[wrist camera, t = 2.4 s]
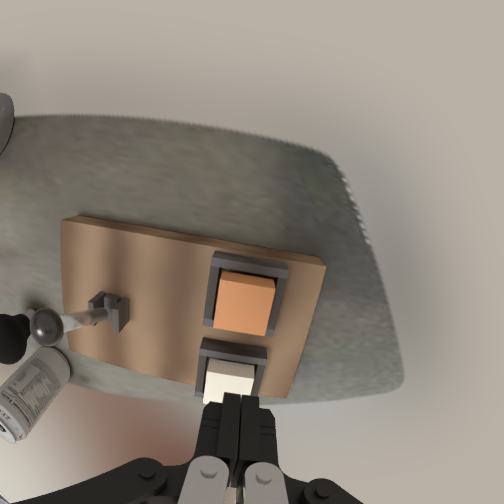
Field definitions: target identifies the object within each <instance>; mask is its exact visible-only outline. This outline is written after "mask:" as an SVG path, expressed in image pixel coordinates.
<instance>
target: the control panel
mask: <svg viewBox="0 0 504 504" xmlns="http://www.w3.org/2000/svg"><path fill="white" fill-rule="evenodd" d="M61 269H62V289H63V302H64V312H65V314H68V313H74V312H79V311H84V310H90V309H95V308H100V307H103V308H105V309H106V310H107V311H108V318H107V319H106V320H105V321H101V322H98V323H95V324H91V325H88V326H84V327H81V328H78V329H74V330H71V331H67V337H68V343H69V350H71V351H74V352H77V353H79V354H82V355H85V356H88V357H91V358H94V359H97V360H100V361H103V362H106V363H109V364H112V365H116V366H119V367H122V368H126V369H129V370H133V371H136V372H140V373H144V374H148V375H151V376H155V377H159V378H164V379H168V380H172V381H177V382H181V383H186V384H191V385H196V387H195V396H197V397H202V398H204V391H205V383H206V375H207V369H208V365H209V360H210V358H211V359H217V360H223V361H229V362H235V363H242V364H248V365H254V382H253V386H252V390H251V394H250V396H258V395H260V396H269V397H279V398H287V396H288V393H289V390H290V387H291V384H292V381H293V378H294V375H295V372H296V369H297V366H298V363H299V360H300V357H301V354H302V351H303V348H304V344H305V341H306V338H307V335H308V331H309V328H310V325H311V321H312V318H313V314H314V311H315V307H316V304H317V300H318V297H319V293H320V289H321V286H322V282H323V278H324V274H325V270H326V265H325V264H324V263H323V262H322V260H321V259H320V258H319V257H315V256H309V255H303V254H298V253H292V252H287V251H281V250H275V249H270V248H264V247H259V246H253V245H247V244H242V243H236V242H230V241H225V240H219V239H213V238H207V237H202V236H196V235H190V234H184V233H178V232H173V231H167V230H161V229H155V228H149V227H143V226H138V225H132V224H126V223H120V222H114V221H108V220H102V219H96V218H90V217H84V216H78V215H77V216H74V217H70V218H66V219H63V220H62V224H61ZM223 271H227V272H233V273H238V274H244V275H250V276H256V277H262V278H267V279H273V280H274V284H275V293H274V298H273V302H272V307H271V311H270V315H269V320H268V324H267V328H266V333H265V336H260V335H253V334H247V333H241V332H235V331H229V330H223V329H217V328H213V324H214V317H215V311H216V304H217V297H218V291H219V284H220V279H221V275H222V272H223Z"/></svg>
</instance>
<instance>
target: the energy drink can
mask: <svg viewBox="0 0 504 504" xmlns="http://www.w3.org/2000/svg"><path fill="white" fill-rule="evenodd" d="M69 379H70V366H69V364H68V361H67V360H66V358H65V357H64V356H63V355H62V354H61V353H60V352H59V351H58V350H56V349H54V348H52V347H41V348H39V349H38V350H37V351H36V352H35V353H34V354H33V355H32V356H31V357H30V358H29V359H28V360H27V361H26V362H24V363H23V364H22V365H21V366H20V367H19V368H18V369H17V370H16V371H15V372H14V374H12V375H11V376H10V377H9V378H8V379H7V380H6V382H4V383H3V384H2V385H1V387H0V436H1V437H2V438H4V439H5V440H6V441H8V442H10V443H12V444H15V443H16V441H18V440H22V439H25V438H26V437H27V435H28V434H29V432H30V431H31V430H32V428H33V427H34V426H35V424H36V423H37V421H38V420H39V419H40V417H41V416H42V415H43V413H44V412H45V411H46V409H47V408H48V407H49V405H50V404H51V403H52V401H53V400H54V399H55V398H56V396H57V395H58V394H59V392H60V391H61V390H62V388H63V387H64V386H65V385H66V383H67V382H68V381H69Z"/></svg>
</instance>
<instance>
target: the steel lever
mask: <svg viewBox="0 0 504 504" xmlns="http://www.w3.org/2000/svg"><path fill="white" fill-rule="evenodd" d="M107 318H108V311H107V310H106V309H105V308H103V307H100V308H95V309H90V310H84V311H79V312H74V313H68V314H63V315H59V314H58V313H57V312H55V311H54V310H52V309H49V308H41V309H39V310H37V311H36V312H34V314H33V315H32V317H31V320H30V331H31V334H32V336H33V338H34V339H35V340H36V341H37V342H38V343H39V344H41V345H43V346H54V345H56V344H57V343H58V342H59V341H60V340H61V339H62V336H63V333H64V332H67V331H71V330H74V329H78V328H81V327H84V326H88V325H91V324H95V323H98V322H101V321H105V320H106V319H107Z"/></svg>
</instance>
